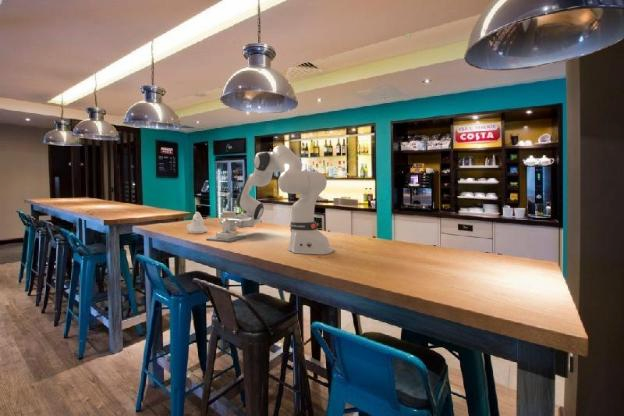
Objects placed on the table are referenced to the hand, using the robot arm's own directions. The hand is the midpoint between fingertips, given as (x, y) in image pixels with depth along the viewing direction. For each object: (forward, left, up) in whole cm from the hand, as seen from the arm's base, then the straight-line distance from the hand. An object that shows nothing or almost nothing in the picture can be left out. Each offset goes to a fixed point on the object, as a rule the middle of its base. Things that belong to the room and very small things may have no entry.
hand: (228, 223), depth 206 cm
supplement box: (+16, -23, -9) cm, 29 cm away
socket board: (0, +2, -9) cm, 9 cm away
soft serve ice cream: (+33, -12, -9) cm, 36 cm away
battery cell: (0, +2, -8) cm, 8 cm away
